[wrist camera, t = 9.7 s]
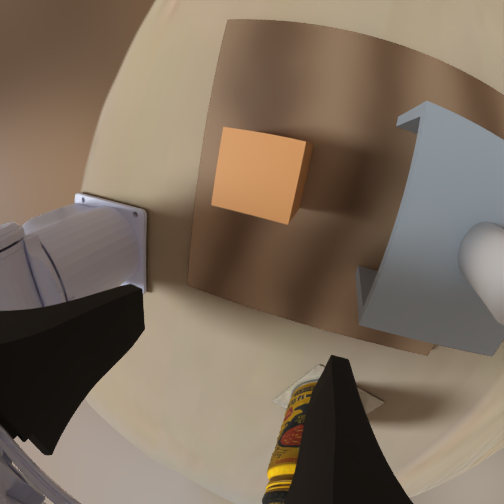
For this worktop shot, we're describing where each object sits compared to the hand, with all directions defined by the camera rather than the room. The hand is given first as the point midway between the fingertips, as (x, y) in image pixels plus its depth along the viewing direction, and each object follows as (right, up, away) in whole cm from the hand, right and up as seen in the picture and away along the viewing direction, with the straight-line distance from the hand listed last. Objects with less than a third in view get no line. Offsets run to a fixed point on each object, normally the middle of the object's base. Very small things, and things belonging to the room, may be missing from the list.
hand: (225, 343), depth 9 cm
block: (+2, +8, +7) cm, 11 cm away
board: (+7, +7, +6) cm, 12 cm away
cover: (+13, +5, +4) cm, 14 cm away
